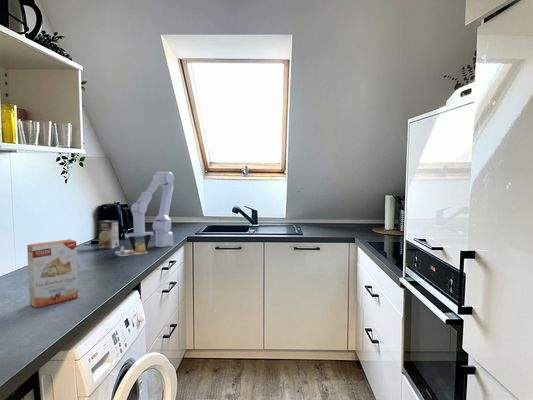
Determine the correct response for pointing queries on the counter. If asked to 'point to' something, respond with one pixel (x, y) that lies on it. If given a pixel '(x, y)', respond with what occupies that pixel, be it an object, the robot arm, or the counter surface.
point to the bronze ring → (140, 247)
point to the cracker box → (52, 272)
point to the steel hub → (122, 249)
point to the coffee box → (108, 234)
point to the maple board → (131, 253)
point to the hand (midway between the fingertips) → (140, 249)
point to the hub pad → (122, 253)
